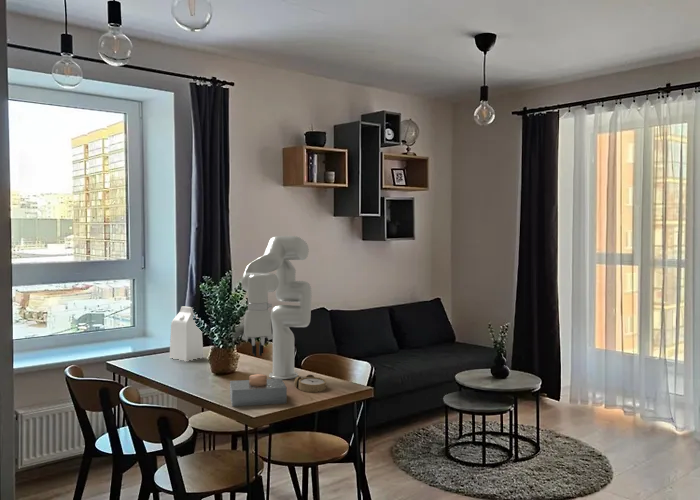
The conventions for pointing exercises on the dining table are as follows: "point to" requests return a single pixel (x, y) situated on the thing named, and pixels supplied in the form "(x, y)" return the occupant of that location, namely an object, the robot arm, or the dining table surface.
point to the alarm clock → (310, 383)
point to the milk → (185, 336)
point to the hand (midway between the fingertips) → (257, 355)
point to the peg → (257, 380)
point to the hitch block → (258, 393)
